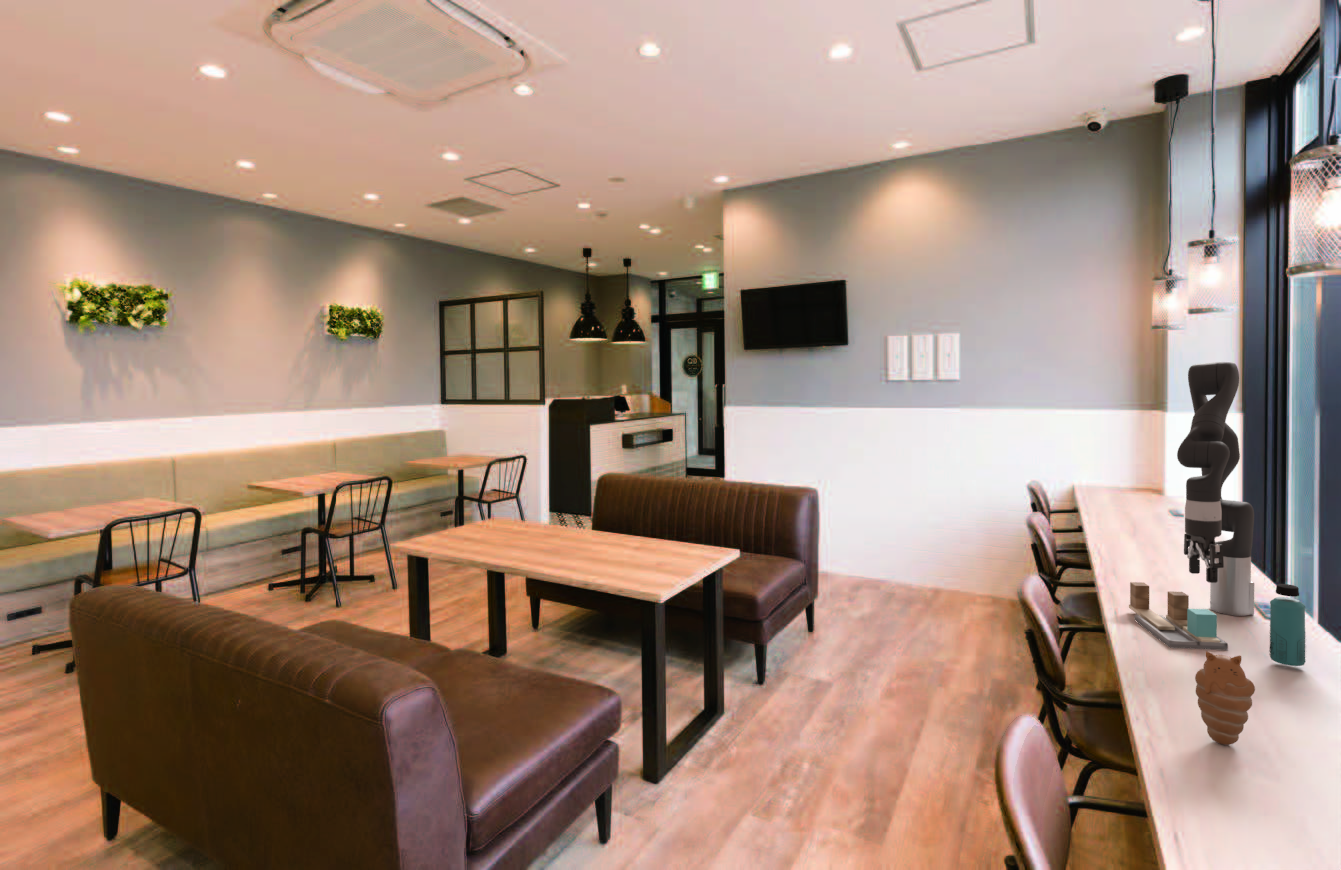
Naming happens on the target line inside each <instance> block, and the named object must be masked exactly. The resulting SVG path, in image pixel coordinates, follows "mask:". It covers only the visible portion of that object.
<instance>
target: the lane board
mask: <svg viewBox="0 0 1341 870" xmlns="http://www.w3.org/2000/svg"><path fill="white" fill-rule="evenodd" d="M1158 615H1159V616H1160V617H1162V618H1163V619H1165V620H1166V621H1167V622H1169V623H1170V624H1172V625H1173V626H1175V630H1158V629H1157V628H1155V627H1154V626H1153V625H1151V624H1150V623H1149V622H1147V621H1146V620H1145V619H1143V618H1142V617H1141V616H1139V615H1138V614H1137V613H1135V614H1134V621H1135V620H1136V621H1137V622H1138V623H1137V622H1136V621H1135V622H1136V623H1137V624H1139V623H1140V624H1141V625H1142V626H1143V627H1142V626H1141V625H1140V624H1139V625H1140V626H1141V627H1142V628H1143V629H1145V628H1146V629H1147V630H1146V629H1145V630H1146V631H1147V632H1149V631H1150V632H1151V633H1152V634H1151V633H1150V632H1149V633H1150V634H1151V635H1153V636H1154V635H1155V636H1156V637H1155V636H1154V637H1155V638H1156V639H1158V640H1159V639H1160V640H1161V641H1160V640H1159V641H1160V642H1162V643H1163V644H1164V643H1165V644H1164V645H1165V646H1167V647H1168V648H1169V647H1170V648H1171V649H1188V648H1189V649H1191V650H1192V649H1194V650H1195V649H1196V650H1216V651H1228V649H1229V644H1228V642H1227V641H1225V640H1223V639H1222V638H1220V637H1219V636H1217V637H1196V636H1195V635H1193V634H1192V633H1190V632H1189V631H1187V626H1183V628H1179V627H1178V626H1176V625H1175V624H1173V623H1172V622H1171V621H1169V620H1168V619H1166V616H1165V617H1164V615H1162V614H1158Z"/></svg>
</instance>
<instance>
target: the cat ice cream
mask: <svg viewBox="0 0 1341 870" xmlns="http://www.w3.org/2000/svg"><path fill="white" fill-rule="evenodd" d="M1205 657H1206V660H1205V661H1204V663H1203V666H1202V667H1203V668H1201V669H1199V670H1197V672H1196V673H1195V675H1194V680H1195V682H1196V686H1195V694H1196V697H1197V705H1198V707H1199V709H1200V716H1201V719H1202V721H1203V723H1204V724H1205V726H1207V727H1206V728H1207V729H1206V731H1207V734H1208V736H1209V738H1211V740H1213V741H1214V742H1215V743H1217V744H1220V745H1223V746H1226V745H1228V746H1230V745H1233V744H1236V743H1237V742H1238V740H1239V738H1240V737H1239V736H1240V734H1241V733H1242V732H1243V730H1244V724H1247V722H1248V720H1249V713H1248V711H1250V709H1251V708H1252V707H1253V700H1252V696H1253V695H1254V694H1255V691H1256V686H1255V684H1254V682H1252V681H1251V680H1250V679H1249V678H1248V677H1246V673H1245V671H1244V670H1243V668H1242V666H1241V663H1242V655H1235V656H1233V657H1230V656H1228V655H1223V654H1213V653H1211V652H1210V651H1207V650H1206V651H1205Z"/></svg>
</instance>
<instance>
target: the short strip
mask: <svg viewBox="0 0 1341 870" xmlns="http://www.w3.org/2000/svg"><path fill="white" fill-rule="evenodd" d="M1189 600H1190V599H1189V595H1188V594H1186V593H1185V592H1183V591H1167V614H1165V618H1166V619H1168V620H1169V621H1171V622H1172V623H1173V624H1175V625H1176V626H1178V627H1179V628H1183V626H1187V609H1190V608H1189V607H1190V606H1189Z"/></svg>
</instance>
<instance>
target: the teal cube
mask: <svg viewBox="0 0 1341 870" xmlns="http://www.w3.org/2000/svg"><path fill="white" fill-rule="evenodd" d="M1217 627H1218V615H1217V614H1216V613H1215V612H1214V611H1212V610H1209V609H1206V608H1205V609H1204V608H1189V609H1187V631H1189V632H1190V633H1192V634H1193V635H1195V636H1196V637H1218V636H1217V635H1218V634H1217V632H1218V628H1217Z"/></svg>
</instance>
